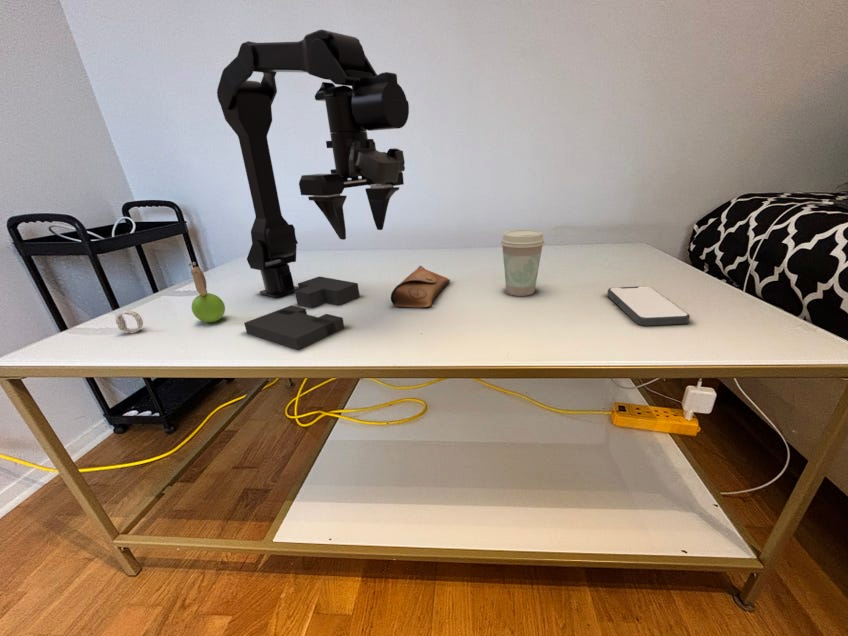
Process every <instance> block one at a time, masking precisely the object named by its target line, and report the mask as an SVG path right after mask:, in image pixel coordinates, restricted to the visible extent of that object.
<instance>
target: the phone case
mask: <svg viewBox="0 0 848 636" xmlns="http://www.w3.org/2000/svg"><path fill="white" fill-rule="evenodd" d="M606 295H607V296H608V297H609V298H610V299H611V300H612V301H613V302H614V303H615V304H616V305H617V306H618V307H619V308H620V309H621V310H622V311H623V312H624V313H625V314H626V315H627V316H628V317H629V318H630V319H632V321H634V322H635V323H636V324H637V325H640V326H643V327H644V326H646V327H650V326H670V325H686V324H689V322H690V318H691V317H690V316H691V315H690V314H689V313H688V312H686V311H685V310H684V309H682V308H681V307H680V306H679V305H676V303H674V302H673V301H671V300H670V299H669V298H667V297H665V296H664V295H663V294H661V293H660V292H659V291H657V290H655V289H654V288H653V287H651V286H647V285H640V286H621V287H620V286H619V287H617V286H616V287H609V288H608V289H607V293H606Z"/></svg>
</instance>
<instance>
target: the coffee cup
mask: <svg viewBox="0 0 848 636" xmlns="http://www.w3.org/2000/svg"><path fill="white" fill-rule="evenodd" d="M500 245H501V247H502V258H503V259H502V260H503V269H504V279H505V290H506V291H505V292H506V293H507V294H508V295H511V296H515V297H525V296H531V295H533V294H534V293H535V291H536V286H537V285H536V284H537V280H538V273H539V269H540V268H539V267H540V262H541V257H542V251H543V246H544V245H545V238H544V236H543V232H542V231H540V230H536V229H513V230H507V231H505V232H503V235H502V238H501V242H500Z"/></svg>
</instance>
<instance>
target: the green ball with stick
mask: <svg viewBox="0 0 848 636" xmlns="http://www.w3.org/2000/svg"><path fill="white" fill-rule="evenodd" d="M196 265H197V262H195V261H193V262H188V263H187V266H189V267H190V273H191V276H192V279H193V284H194V286H195V289H196V291H197V293H198V294H199V295H197V296H196V297H195V298H193V300H192V302H191V311H192V314H193V315H194V317H195V318H196V319H198V320H199V321H201V322H202V323H203V322H204V323H216V322H218V321H219V320H221V319H222V318H223V317H224V315H225V312H226V306H225V302H224V301H223V300H222V299H221V297H220V296H218V295H217V294H214V293H208V289H207V288H208V287H207V280H206V276H205V274H204V271H202V269H201V268H200V267H199V266H196ZM192 266H194V267H193V268H192Z"/></svg>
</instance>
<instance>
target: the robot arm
mask: <svg viewBox="0 0 848 636" xmlns="http://www.w3.org/2000/svg"><path fill="white" fill-rule="evenodd" d="M254 72H255V73H262V75H263V76H262V79H261V82H259V81H256V80H249V79H250V78H251V77H252V75H253V73H254ZM277 73H306V74H308V75H310V76H313V77H316V78H319V79H322V80H326V81H327V80H328V81H331V82H328V81H327V82H326V81H322V82H321V86H320V87H319V89H318V90H317V91H316V93H315V94H314V100H315V101H318V102H324V103H325V109H326V115H327V121H328V128H329V133H330V134H329V135H330V140H325V144H326V145H325V146H326V149H332V154H333V161H334V167H335V168H333V169H332V168H331V169H330V173H313V174H301V176H300V179H299V182H298V187H299V192H300V195H301V196H308V197H307V198H308V201H313V202H314V203H315V205H316V206H317V208H318V209H319V210H320V211H321V213H322V214H323V215H324V217H325V218H326V220H327V222H328V223H329V224H330V226H331V227H332V228H333V231H334V232H335V234H336V235H337V237H338V238H339V240H342V241H345V240H347V229H346V222H345V214H344V213H345V212H344V204H345V202H346V199H347V198H348V196H347V195H343V192H344V190H345V189H349V188H353V187H354V188H356V187H363V186H369V187H366V188H365V194H366V196H367V197H366V198H367V200H368V204H369V207H370V211H371V215H372V220H373V222H374V225H375V228H376V230H377V231H383V230H384V225H385V221H386V216H387V211H388V206H389V204H390V200H391V198H392V196H393V195H395V193H396V192H397V191H399V190H400V187H399V186H403V185H404V184H405V183H404V173H403V172H404V171H406V167H405V161H406V160H405V156H404V151H403V150H401V149H399V148H398V147H397V148H396V147H394V148H389V149H388V150H387V152H385V151H380V150H377V148H376V142H375V141H374V138H369V136H368V131H369V132H374V131H386V130H398V129H402V128H403V127H405V126H406V124H407V122H408V119H409V113H410V105H409V101H408V99H407V96H406V93H405V92H404V90H403V88H402V86H401V85H400V84H399V83H398V74H397V73H395V72H388V71H385V72H380V73H379V74H377V72H376V71H375V69H374V67H373V65H372V64H371V62H370V60H369V59H368V57H367V56H366V53H365V51H364V48H363V45H362V43H361V42H360V39H359V38H358V37H355V36H352V35H347V34H343V33H339V32H334V31H329V30H326V29H318V30H315V31H312V32H311V33H307V34H305V35H304V37H303V39H301V40H299V41H275V42H273V41H272V42H255V41H249V40H247V41H245V42H242V43H241V44H240V46H239V50H238V53H237V55H236V56H235V58H234V59H232V60H231V62H230V63H228V64H227V65H226V67H224V68H223V70H222V72H221V76H220V79H219V82H218V86H217V90H216V97H217V99H218V104H219V105H220V109H221V112H222V114H223V118H224V120H225V122H226V123H227V124H228V126H229V127H230V128H231V129H232V130H233V132H234V133H235V135H236V136H237V138H238V142H239V146H240V150H241V155H242V160H243V164H244V169H245V172H246V178H247V183H248V188H249V192H250V198H251V201H252V205H253V210H254V215H255V218H254V221H253V224H252V226H251V230H250V237H251V246H250V248H249V251H248V254H247V256H246V261H247V263H248V265H249V268H250V269H252V270H258V271H260V275H261V278H262V282H263V286H264V289H262V290H259V294H260V295H263V296H267V297H272V298H280V297H284V296H287V295H289V294H292V293H295V291H296V290H299V287H298V286H296V285H295V284H294V280H293V275H292V271H291V268H290V265H289V264H291V263H296V262H297V249H298V246H297V245H298V244H299V242H298V239H297V236H296V228H295V226H294V225H293V224H289V223H288V221H287V220H286V219H285V218H284V216H283V214H282V210H281V205H280V199H279V194H278V188H277V184H276V178H275V173H274V168H273V162H272V158H271V157H272V156H271V152H270V146H269V141H268V134H269V131H270V128H271V126H272V123H273V110H272V105H273V102H274V100H275V98H276V96H277V93H278V88H277V82H276V75H277ZM336 85H337V86H336ZM341 194H342V195H341Z"/></svg>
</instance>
